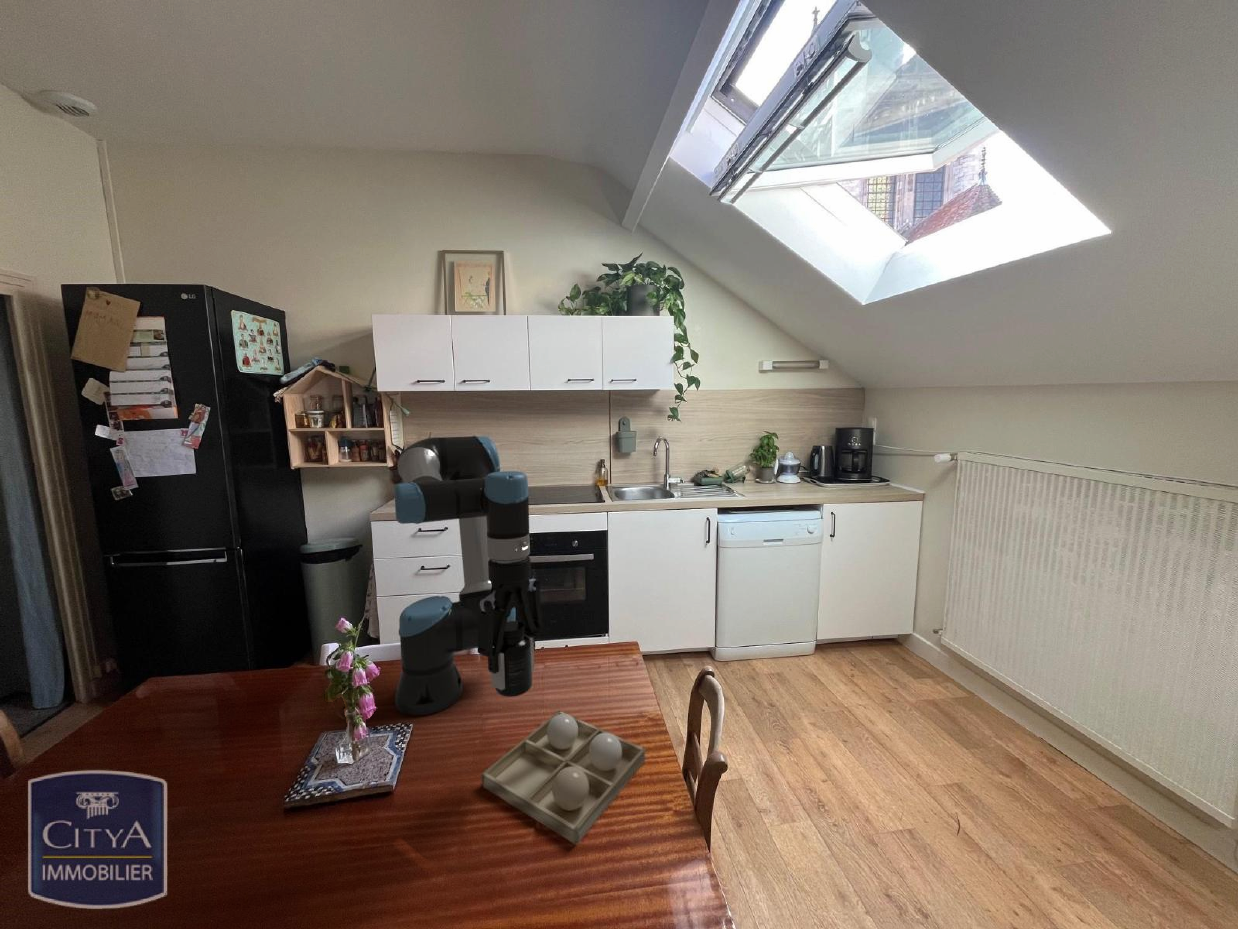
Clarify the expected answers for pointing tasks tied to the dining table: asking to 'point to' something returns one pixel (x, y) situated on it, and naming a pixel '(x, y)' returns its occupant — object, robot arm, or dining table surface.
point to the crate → (535, 767)
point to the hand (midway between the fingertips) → (513, 677)
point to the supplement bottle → (516, 660)
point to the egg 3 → (605, 752)
